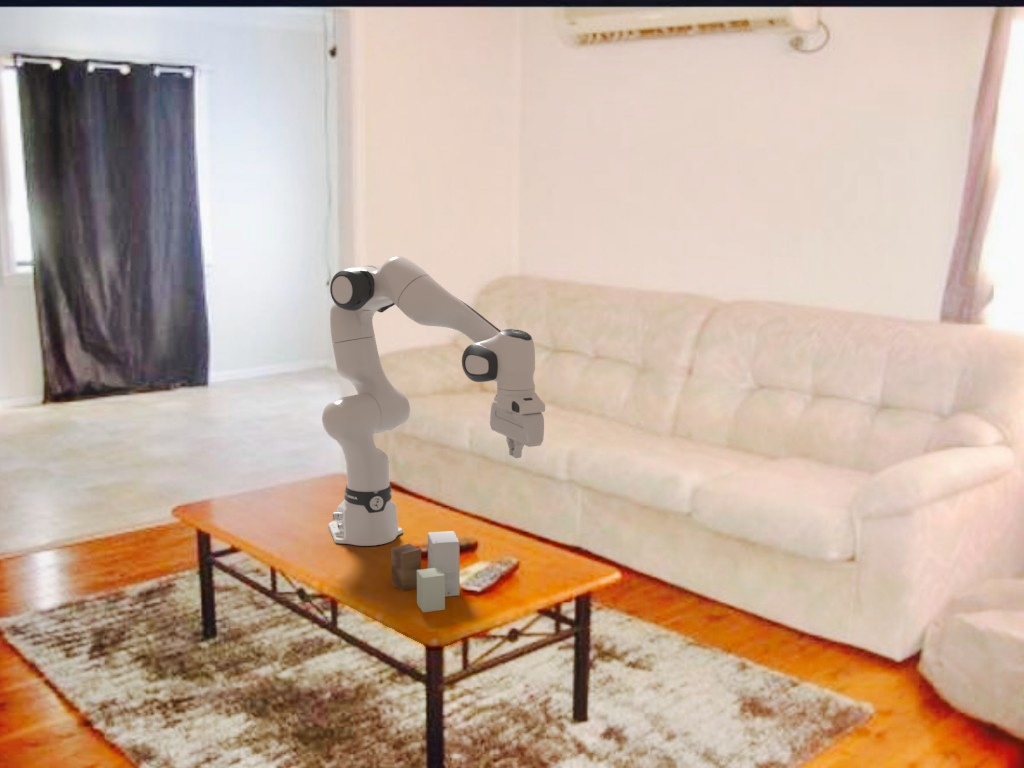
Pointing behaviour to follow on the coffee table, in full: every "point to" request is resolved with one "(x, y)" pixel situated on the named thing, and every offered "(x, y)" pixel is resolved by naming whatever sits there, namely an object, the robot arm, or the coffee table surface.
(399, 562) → the walnut block
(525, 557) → the coffee table surface
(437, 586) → the sage block
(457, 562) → the small box
